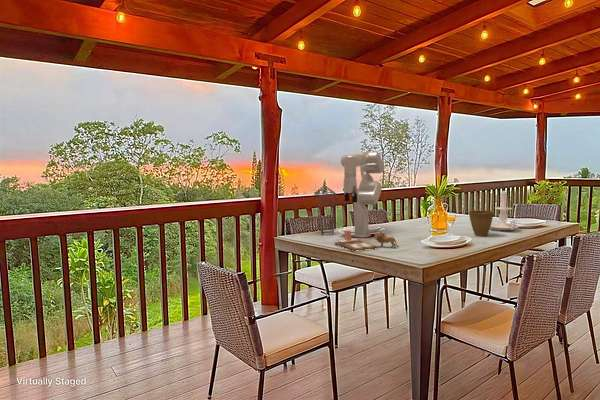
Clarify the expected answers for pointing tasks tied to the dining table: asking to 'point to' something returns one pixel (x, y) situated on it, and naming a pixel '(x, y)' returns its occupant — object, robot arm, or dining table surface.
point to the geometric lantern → (325, 205)
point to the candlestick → (504, 216)
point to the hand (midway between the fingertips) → (350, 201)
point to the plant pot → (481, 222)
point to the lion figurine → (385, 239)
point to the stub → (347, 237)
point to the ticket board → (356, 245)
